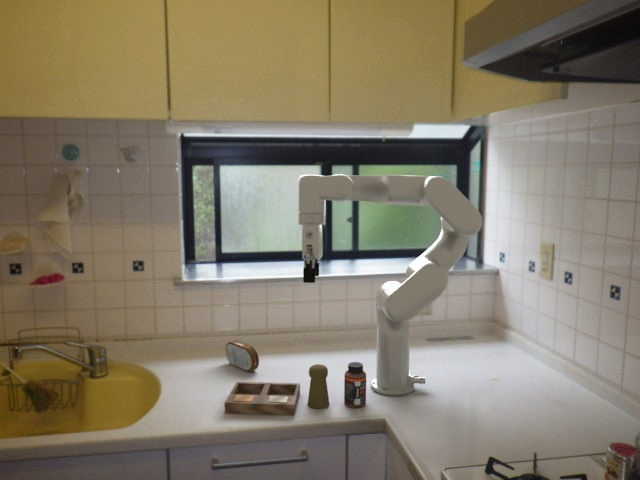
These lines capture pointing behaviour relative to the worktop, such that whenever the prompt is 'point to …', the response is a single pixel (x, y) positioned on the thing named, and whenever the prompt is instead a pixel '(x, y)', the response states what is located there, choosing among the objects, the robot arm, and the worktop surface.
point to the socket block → (263, 398)
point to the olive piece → (318, 387)
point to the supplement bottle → (355, 385)
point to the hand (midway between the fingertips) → (311, 279)
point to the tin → (242, 355)
